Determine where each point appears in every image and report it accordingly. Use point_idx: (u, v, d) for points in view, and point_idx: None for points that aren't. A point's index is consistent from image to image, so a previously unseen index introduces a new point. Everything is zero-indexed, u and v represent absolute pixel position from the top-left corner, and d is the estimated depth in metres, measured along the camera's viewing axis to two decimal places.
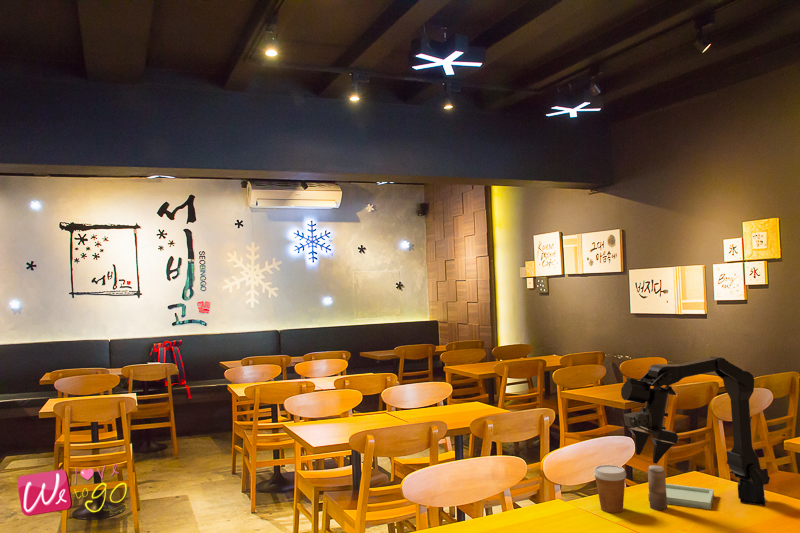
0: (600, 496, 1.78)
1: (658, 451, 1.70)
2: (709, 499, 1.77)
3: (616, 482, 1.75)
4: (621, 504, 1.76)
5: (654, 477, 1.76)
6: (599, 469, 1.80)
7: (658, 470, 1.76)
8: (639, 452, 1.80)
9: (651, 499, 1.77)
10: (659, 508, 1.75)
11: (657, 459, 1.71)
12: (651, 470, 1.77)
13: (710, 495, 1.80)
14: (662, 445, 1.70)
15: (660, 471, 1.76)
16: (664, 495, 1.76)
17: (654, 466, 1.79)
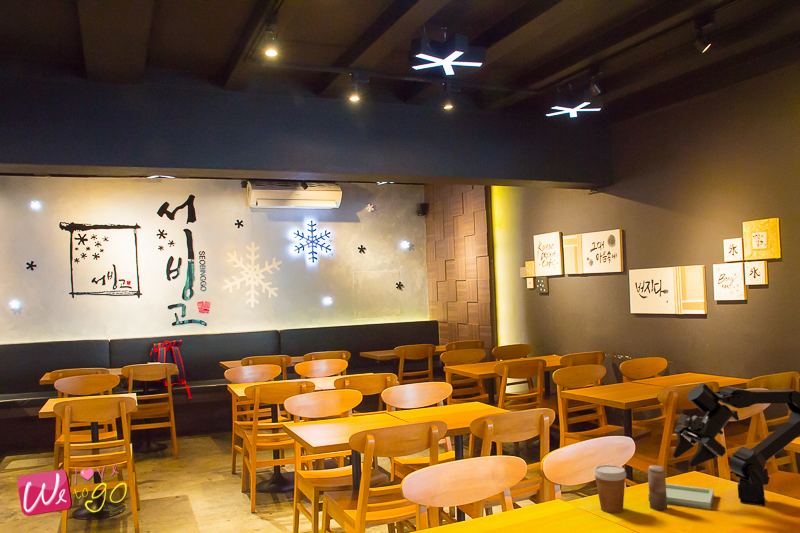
0: (600, 496, 1.78)
1: (699, 456, 1.73)
2: (709, 499, 1.77)
3: (616, 482, 1.75)
4: (621, 504, 1.76)
5: (654, 477, 1.76)
6: (599, 469, 1.80)
7: (658, 470, 1.76)
8: (676, 456, 1.83)
9: (651, 499, 1.77)
10: (659, 508, 1.75)
11: (694, 463, 1.74)
12: (651, 470, 1.77)
13: (710, 495, 1.80)
14: (705, 453, 1.73)
15: (660, 471, 1.76)
16: (664, 495, 1.76)
17: (654, 466, 1.79)
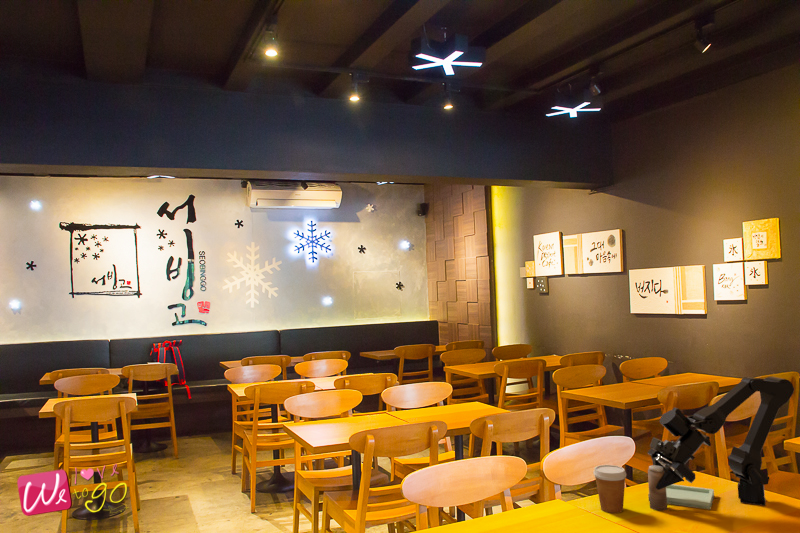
0: (600, 496, 1.78)
1: (665, 479, 1.74)
2: (709, 499, 1.77)
3: (616, 482, 1.75)
4: (621, 504, 1.76)
5: (654, 477, 1.76)
6: (599, 469, 1.80)
7: (658, 470, 1.76)
8: None
9: (651, 499, 1.77)
10: (659, 508, 1.75)
11: (661, 486, 1.75)
12: (651, 470, 1.77)
13: (710, 495, 1.80)
14: (672, 476, 1.75)
15: (661, 471, 1.76)
16: (664, 495, 1.76)
17: (655, 466, 1.79)
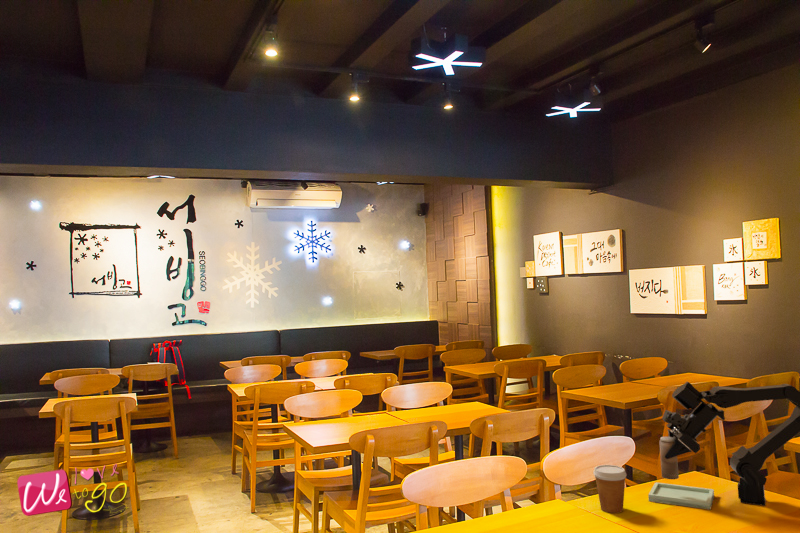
0: (600, 496, 1.78)
1: (673, 449, 1.82)
2: (709, 499, 1.77)
3: (616, 482, 1.75)
4: (621, 504, 1.76)
5: (663, 447, 1.84)
6: (599, 469, 1.80)
7: (667, 440, 1.84)
8: None
9: (662, 468, 1.85)
10: (668, 477, 1.83)
11: (669, 456, 1.82)
12: (661, 440, 1.85)
13: (710, 495, 1.80)
14: (680, 447, 1.81)
15: (670, 442, 1.83)
16: (674, 465, 1.83)
17: (667, 437, 1.86)
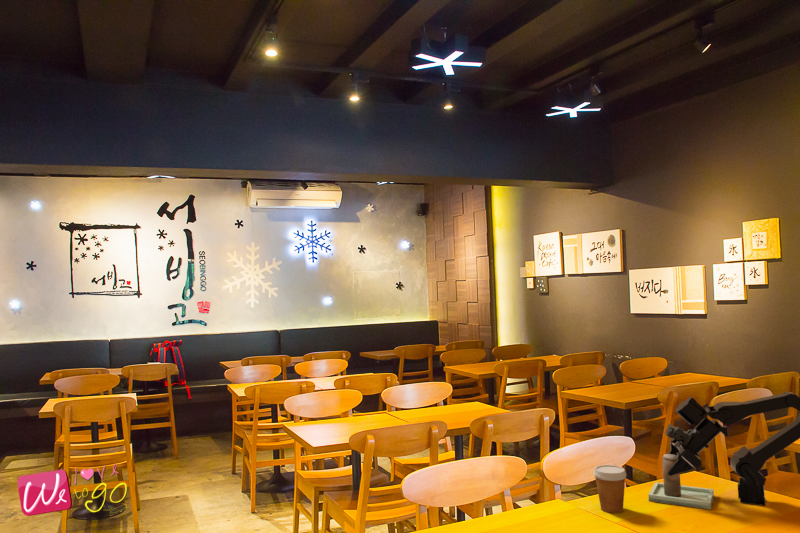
0: (600, 496, 1.78)
1: (677, 466, 1.80)
2: (709, 499, 1.77)
3: (616, 482, 1.75)
4: (621, 504, 1.76)
5: (666, 465, 1.84)
6: (599, 469, 1.80)
7: (670, 458, 1.84)
8: None
9: (664, 485, 1.85)
10: (671, 494, 1.83)
11: (672, 472, 1.81)
12: (664, 458, 1.86)
13: (710, 495, 1.80)
14: (683, 464, 1.80)
15: (673, 460, 1.84)
16: (676, 482, 1.83)
17: (670, 455, 1.87)
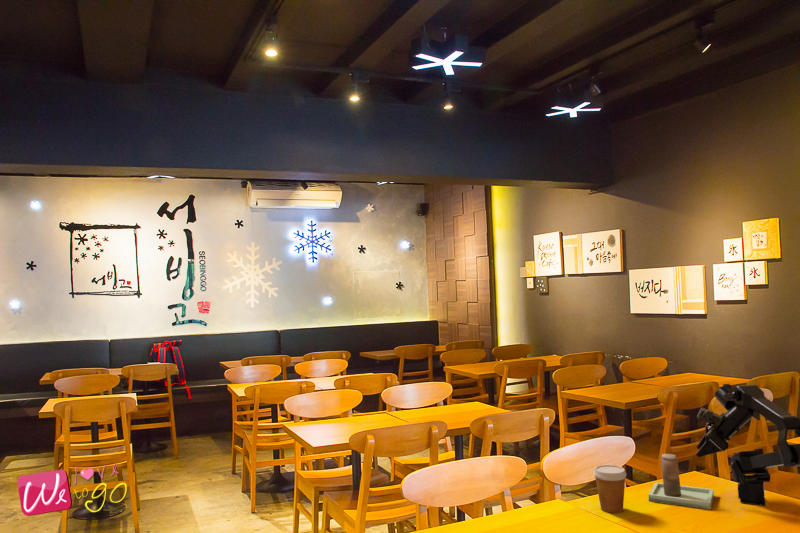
0: (600, 496, 1.78)
1: (705, 448, 1.82)
2: (709, 499, 1.77)
3: (616, 482, 1.75)
4: (621, 504, 1.76)
5: (664, 464, 1.85)
6: (599, 469, 1.80)
7: (668, 458, 1.84)
8: (700, 447, 1.92)
9: (664, 485, 1.86)
10: (670, 494, 1.83)
11: (701, 454, 1.83)
12: (662, 458, 1.86)
13: (710, 495, 1.80)
14: (712, 446, 1.81)
15: (671, 459, 1.84)
16: (675, 482, 1.83)
17: (668, 454, 1.87)
